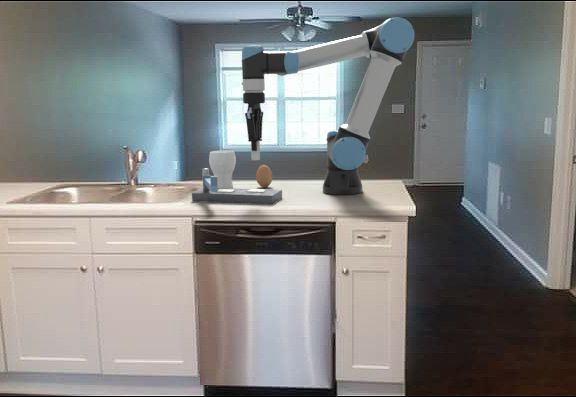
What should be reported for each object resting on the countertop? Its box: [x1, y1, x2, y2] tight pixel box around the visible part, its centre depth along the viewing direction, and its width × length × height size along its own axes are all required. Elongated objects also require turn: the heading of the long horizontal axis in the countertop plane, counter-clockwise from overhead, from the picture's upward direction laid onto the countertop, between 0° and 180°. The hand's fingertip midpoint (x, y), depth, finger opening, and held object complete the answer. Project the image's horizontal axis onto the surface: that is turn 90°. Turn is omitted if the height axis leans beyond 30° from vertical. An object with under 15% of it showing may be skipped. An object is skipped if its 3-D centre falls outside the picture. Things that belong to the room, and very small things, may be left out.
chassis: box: [191, 167, 283, 205], centre depth 202 cm, size 30×12×11 cm, turn 74°
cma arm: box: [202, 174, 218, 192], centre depth 193 cm, size 20×3×6 cm, turn 16°
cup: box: [208, 150, 237, 188], centre depth 225 cm, size 11×11×15 cm
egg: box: [255, 164, 273, 188], centre depth 228 cm, size 7×7×9 cm
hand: (255, 159), depth 199 cm, fingers closed
